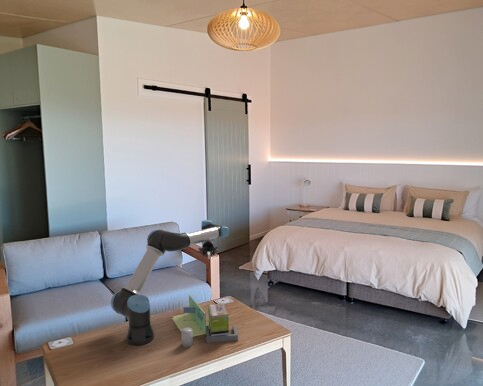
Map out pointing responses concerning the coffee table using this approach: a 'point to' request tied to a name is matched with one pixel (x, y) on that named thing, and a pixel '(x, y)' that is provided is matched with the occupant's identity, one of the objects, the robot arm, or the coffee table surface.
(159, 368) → the coffee table surface
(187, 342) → the grey rounded cylinder
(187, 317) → the display stand
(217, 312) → the tea box
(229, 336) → the frame
